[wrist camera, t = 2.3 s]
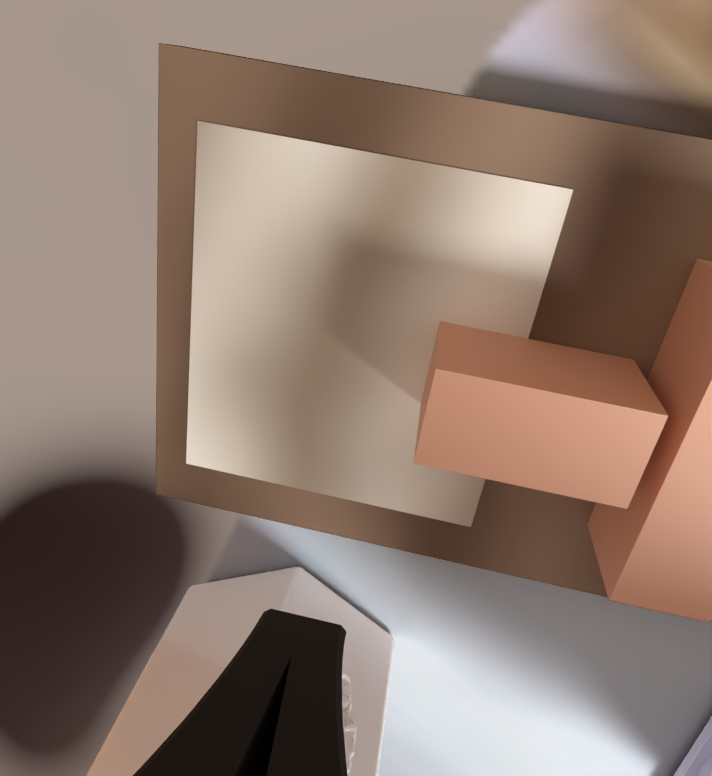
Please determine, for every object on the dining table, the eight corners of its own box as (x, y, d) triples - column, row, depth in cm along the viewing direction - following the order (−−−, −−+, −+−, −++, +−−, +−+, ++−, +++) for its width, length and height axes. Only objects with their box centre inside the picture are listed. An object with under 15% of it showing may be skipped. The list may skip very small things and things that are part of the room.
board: (1037, 196, 14) (1078, 203, 13) (771, 612, 20) (786, 638, 19) (176, 45, 15) (158, 43, 14) (168, 477, 21) (155, 494, 20)
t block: (806, 278, 14) (884, 323, 12) (673, 543, 18) (710, 622, 15) (464, 214, 15) (464, 244, 12) (402, 484, 19) (392, 551, 16)
